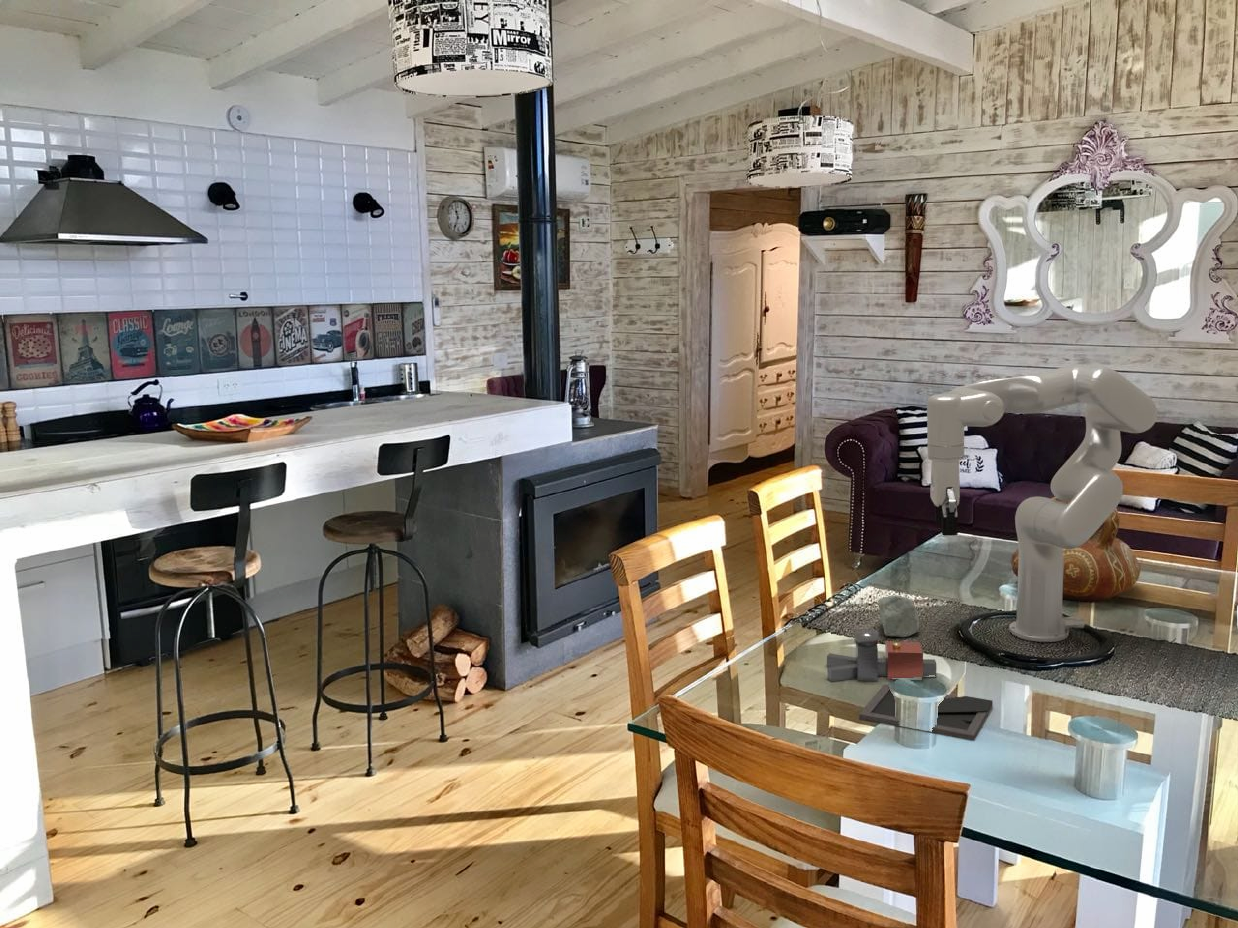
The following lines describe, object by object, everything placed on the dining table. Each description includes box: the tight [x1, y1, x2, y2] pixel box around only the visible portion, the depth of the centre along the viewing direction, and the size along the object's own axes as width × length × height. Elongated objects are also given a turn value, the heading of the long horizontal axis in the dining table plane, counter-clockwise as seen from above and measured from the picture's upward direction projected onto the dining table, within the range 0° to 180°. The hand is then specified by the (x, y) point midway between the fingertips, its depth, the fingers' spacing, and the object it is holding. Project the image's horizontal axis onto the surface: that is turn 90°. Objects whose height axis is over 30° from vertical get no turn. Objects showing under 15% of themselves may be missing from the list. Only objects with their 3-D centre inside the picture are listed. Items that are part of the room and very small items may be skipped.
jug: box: [1010, 496, 1141, 604], centre depth 265 cm, size 30×30×25 cm
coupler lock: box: [884, 640, 924, 681], centre depth 217 cm, size 7×6×7 cm
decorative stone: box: [877, 595, 920, 638], centre depth 243 cm, size 13×11×10 cm
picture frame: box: [858, 683, 994, 742], centre depth 199 cm, size 16×2×21 cm
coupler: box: [826, 628, 937, 683], centre depth 218 cm, size 22×10×9 cm, turn 80°
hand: (946, 529), depth 227 cm, fingers open, 9 cm apart
